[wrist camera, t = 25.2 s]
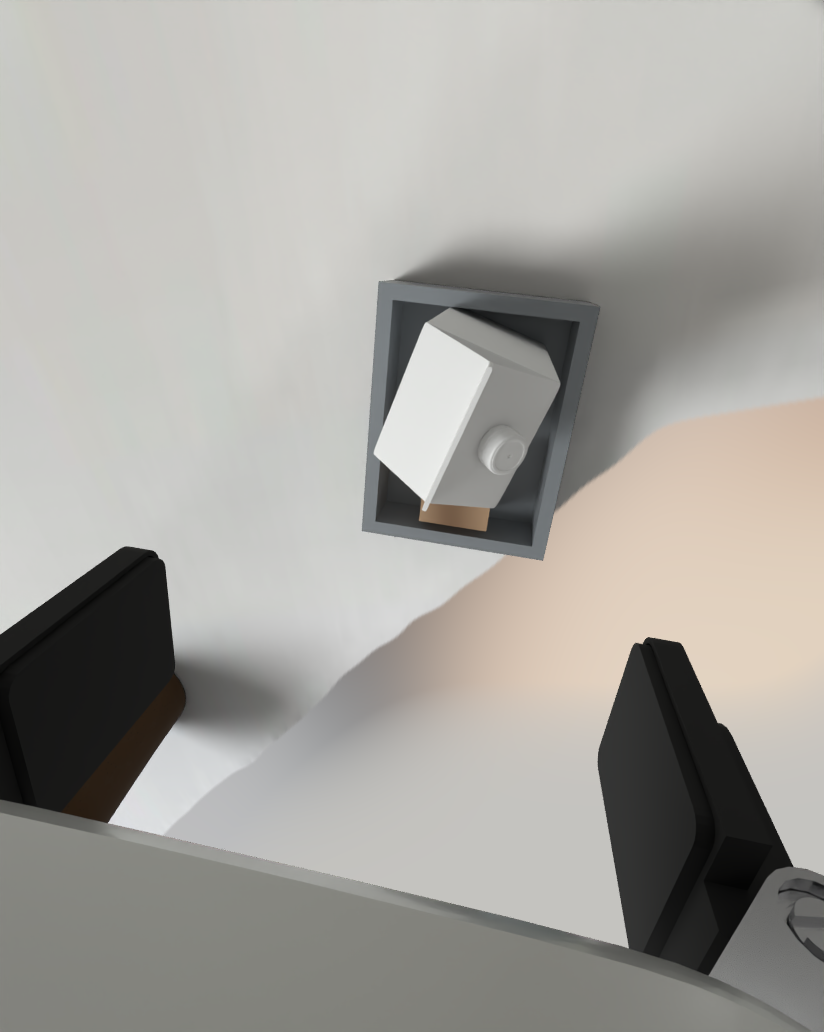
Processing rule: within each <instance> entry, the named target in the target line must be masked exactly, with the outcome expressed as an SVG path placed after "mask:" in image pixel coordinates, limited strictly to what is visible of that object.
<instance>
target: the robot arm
mask: <svg viewBox="0 0 824 1032" xmlns="http://www.w3.org/2000/svg"><path fill="white" fill-rule="evenodd" d="M822 1H824V0H822ZM174 669H175V658H174V649H173V639H172V629H171V619H170V609H169V599H168V589H167V579H166V569H165V564H164V562H163V560H161V559H159V558H158V555H157V554H156V552H154V551H152V550H146V549H140V548H134V547H123V548H121V549H119V550H118V551H116V552H115V553H114V554H112V555H111V556H109V557H108V558H107V559H105V560H104V561H102V562H101V563H100V564H98V565H97V566H95V567H94V568H93V569H91V570H90V571H88V572H87V573H86V574H84V575H83V576H82V577H80V578H79V579H77V580H76V581H75V582H73V583H72V584H70V585H69V586H68V587H66V588H65V589H63V590H62V591H61V592H59V593H58V594H56V595H55V596H54V597H52V598H51V599H49V600H48V601H47V602H45V603H44V604H42V605H41V606H40V607H38V608H37V609H35V610H34V611H33V612H31V613H30V614H28V615H27V616H26V617H24V618H23V619H21V620H20V621H19V622H17V623H16V624H14V625H13V626H12V627H10V628H9V629H7V630H6V631H5V632H3V633H2V634H0V1032H824V876H823V875H821V874H818V873H815V872H813V871H810V870H808V869H802V868H795V867H793V865H792V863H791V861H790V859H789V856H788V854H787V852H786V850H785V848H784V846H783V844H782V841H781V839H780V837H779V835H778V833H777V831H776V829H775V826H774V824H773V822H772V820H771V818H770V816H769V814H768V812H767V809H766V807H765V806H764V803H763V801H762V799H761V797H760V795H759V793H758V790H757V788H756V786H755V784H754V782H753V780H752V778H751V775H750V773H749V771H748V769H747V767H746V765H745V763H744V760H743V758H742V756H741V754H740V752H739V750H738V748H737V746H736V743H735V741H734V739H733V737H732V735H731V733H730V732H729V730H728V729H727V727H725V726H724V725H723V724H720V723H717V721H716V719H715V716H714V714H713V712H712V710H711V707H710V705H709V703H708V701H707V699H706V696H705V694H704V692H703V690H702V688H701V685H700V683H699V681H698V679H697V676H696V674H695V672H694V670H693V668H692V665H691V663H690V661H689V659H688V656H687V654H686V652H685V650H684V648H683V646H682V645H681V643H678V642H672V641H667V640H661V639H656V638H650V637H648V638H646V639H645V641H644V642H643V644H639V643H635V644H634V645H633V647H632V649H631V652H630V655H629V658H628V661H627V664H626V667H625V671H624V674H623V677H622V680H621V683H620V686H619V689H618V692H617V695H616V698H615V702H614V704H613V707H612V710H611V714H610V716H609V719H608V723H607V726H606V729H605V732H604V735H603V738H602V741H601V744H600V747H599V752H598V770H599V776H600V782H601V787H602V793H603V799H604V805H605V811H606V817H607V823H608V829H609V834H610V840H611V846H612V852H613V857H614V863H615V869H616V875H617V881H618V887H619V892H620V898H621V904H622V910H623V915H624V921H625V927H626V933H627V938H628V945H629V948H625V947H622V946H619V945H615V944H611V943H607V942H603V941H599V940H595V939H591V938H588V937H583V936H580V935H576V934H572V933H568V932H564V931H561V930H556V929H553V928H549V927H545V926H541V925H537V924H533V923H529V922H526V921H522V920H518V919H514V918H509V917H506V916H502V915H497V914H493V913H489V912H485V911H481V910H476V909H472V908H468V907H464V906H460V905H456V904H451V903H447V902H443V901H439V900H435V899H430V898H426V897H422V896H418V895H414V894H409V893H405V892H401V891H397V890H392V889H389V888H384V887H380V886H376V885H371V884H368V883H363V882H359V881H355V880H350V879H347V878H342V877H338V876H333V875H329V874H325V873H321V872H317V871H312V870H308V869H304V868H299V867H295V866H291V865H287V864H282V863H278V862H274V861H269V860H265V859H261V858H257V857H252V856H248V855H244V854H239V853H235V852H231V851H226V850H222V849H218V848H214V847H209V846H205V845H201V844H196V843H191V842H188V841H183V840H179V839H175V838H170V837H166V836H161V835H157V834H153V833H148V832H144V831H139V830H135V829H131V828H126V827H122V826H117V825H113V824H108V823H104V822H100V821H95V820H91V819H86V818H82V817H78V816H73V815H69V814H64V813H61V812H62V810H63V809H64V808H65V807H66V806H67V804H68V803H69V802H70V801H71V800H72V798H73V797H74V796H75V795H76V793H77V792H78V791H79V790H80V789H81V787H82V786H83V785H84V784H85V783H86V781H87V780H88V779H89V778H90V777H91V775H92V774H93V773H94V772H95V771H96V769H97V768H98V767H99V766H100V765H101V763H102V762H103V761H104V760H105V759H106V757H107V756H108V755H109V754H110V752H111V751H112V750H113V749H114V748H115V746H116V745H117V744H118V743H119V742H120V740H121V739H122V738H123V737H124V736H125V734H126V733H127V732H128V731H129V730H130V728H131V727H132V726H133V725H134V724H135V722H136V721H137V720H138V719H139V718H140V716H141V715H142V714H143V713H144V712H145V710H146V709H147V708H148V707H149V705H150V704H151V703H152V702H153V701H154V699H155V698H156V697H157V696H158V695H159V693H160V692H161V691H162V690H163V689H164V687H165V686H166V685H167V684H168V683H169V681H170V680H171V678H172V676H173V673H174Z"/></svg>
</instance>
